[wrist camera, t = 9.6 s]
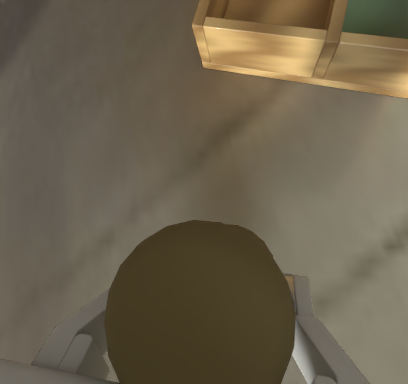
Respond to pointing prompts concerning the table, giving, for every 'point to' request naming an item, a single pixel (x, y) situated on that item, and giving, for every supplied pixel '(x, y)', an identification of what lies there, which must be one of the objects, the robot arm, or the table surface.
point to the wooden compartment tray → (309, 41)
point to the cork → (200, 309)
